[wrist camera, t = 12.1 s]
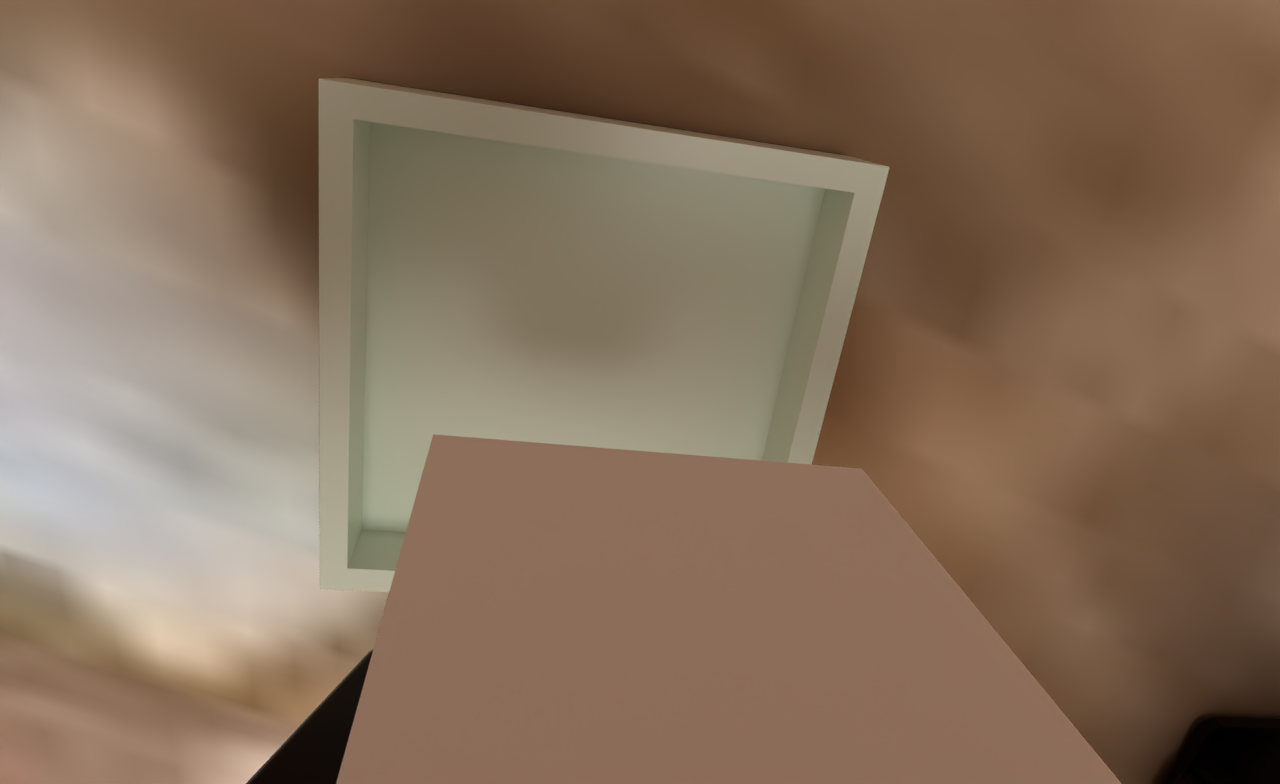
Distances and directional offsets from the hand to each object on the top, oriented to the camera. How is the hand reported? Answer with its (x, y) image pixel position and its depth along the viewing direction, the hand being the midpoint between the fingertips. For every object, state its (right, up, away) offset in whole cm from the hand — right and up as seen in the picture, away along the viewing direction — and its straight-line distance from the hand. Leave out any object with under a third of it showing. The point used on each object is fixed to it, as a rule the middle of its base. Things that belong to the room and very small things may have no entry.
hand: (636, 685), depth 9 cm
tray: (-1, +4, +10) cm, 11 cm away
